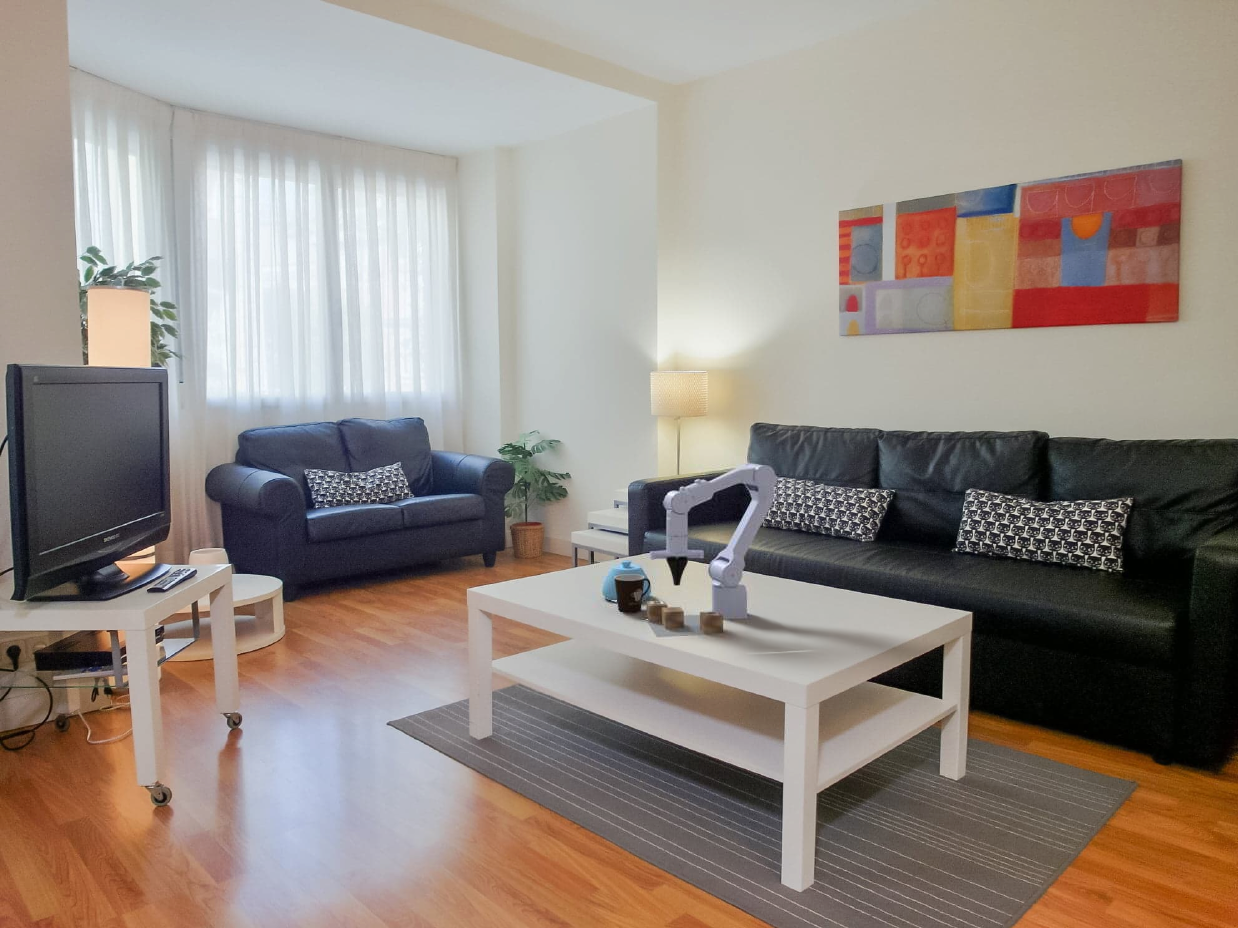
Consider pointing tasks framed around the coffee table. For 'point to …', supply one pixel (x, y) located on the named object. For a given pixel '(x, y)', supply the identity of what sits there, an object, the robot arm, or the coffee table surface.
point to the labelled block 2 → (711, 622)
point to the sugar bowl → (623, 569)
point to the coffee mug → (630, 592)
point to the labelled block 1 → (655, 610)
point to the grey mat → (689, 628)
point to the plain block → (672, 617)
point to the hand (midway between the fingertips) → (676, 584)
